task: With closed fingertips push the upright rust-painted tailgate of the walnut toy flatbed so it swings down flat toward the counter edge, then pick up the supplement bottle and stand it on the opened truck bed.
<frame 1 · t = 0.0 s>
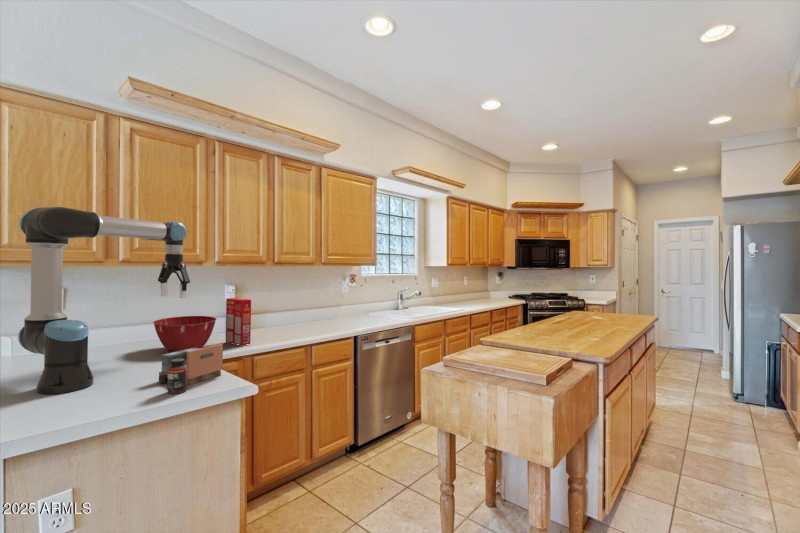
hand: (173, 296, 185), 28 cm above the worktop, fingers open, 13 cm apart
mixing bowl: (185, 349, 194), on the worktop
tailgate: (206, 360, 144), point 8 cm above the worktop, hinge at 0.0°
flatbed: (190, 378, 148), on the worktop
food packaging: (237, 344, 210), on the worktop
supplement bottle: (177, 392, 133), on the worktop
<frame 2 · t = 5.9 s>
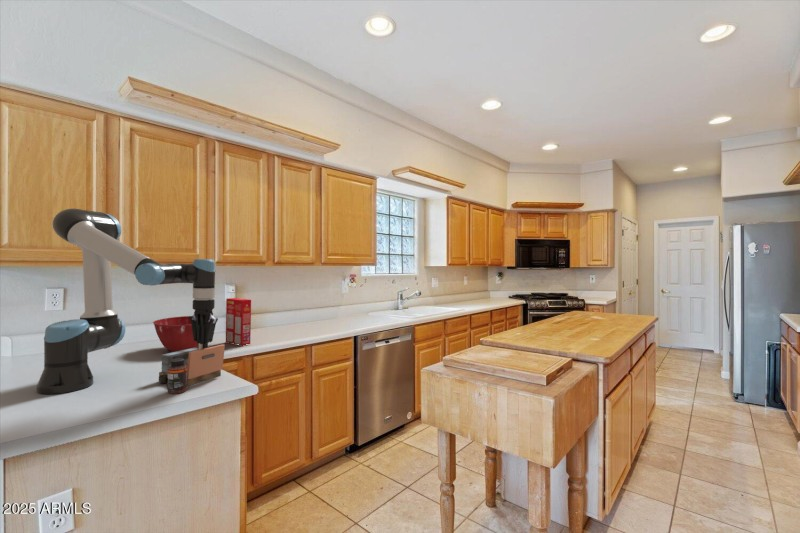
hand: (202, 359, 145), 8 cm above the worktop, fingers closed
tailgate: (207, 361, 144), point 8 cm above the worktop, hinge at 6.5°, touching gripper
everything else where it was.
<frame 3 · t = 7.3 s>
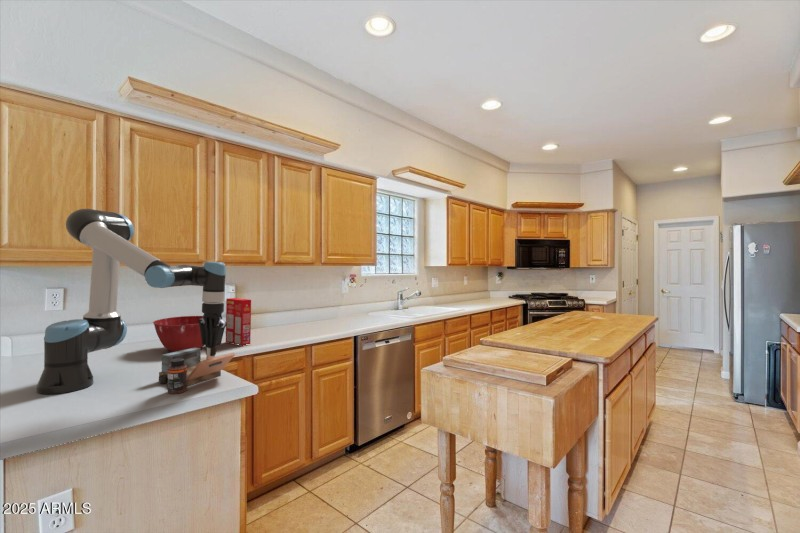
hand: (210, 363, 143), 7 cm above the worktop, fingers closed
tailgate: (212, 366, 143), point 6 cm above the worktop, hinge at 44.9°, touching gripper
everything else where it was.
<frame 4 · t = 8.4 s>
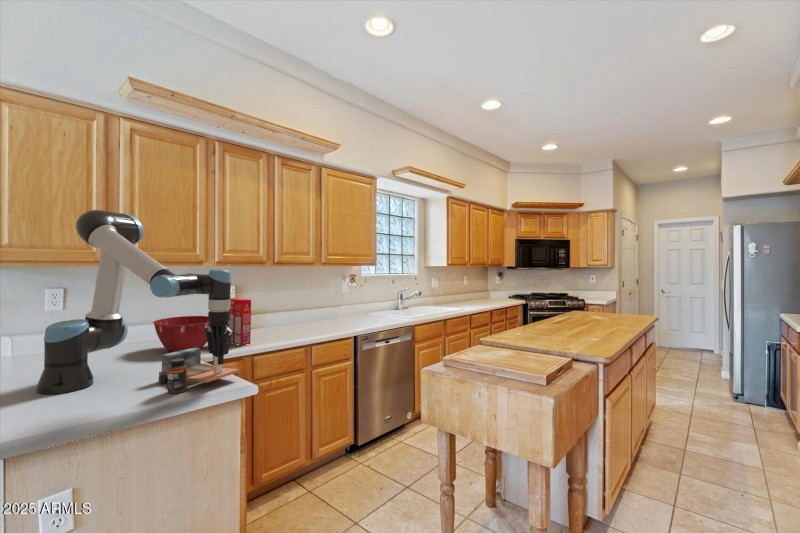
hand: (218, 372, 142), 4 cm above the worktop, fingers closed
tailgate: (214, 375, 142), point 3 cm above the worktop, hinge at 85.8°, touching gripper
everything else where it was.
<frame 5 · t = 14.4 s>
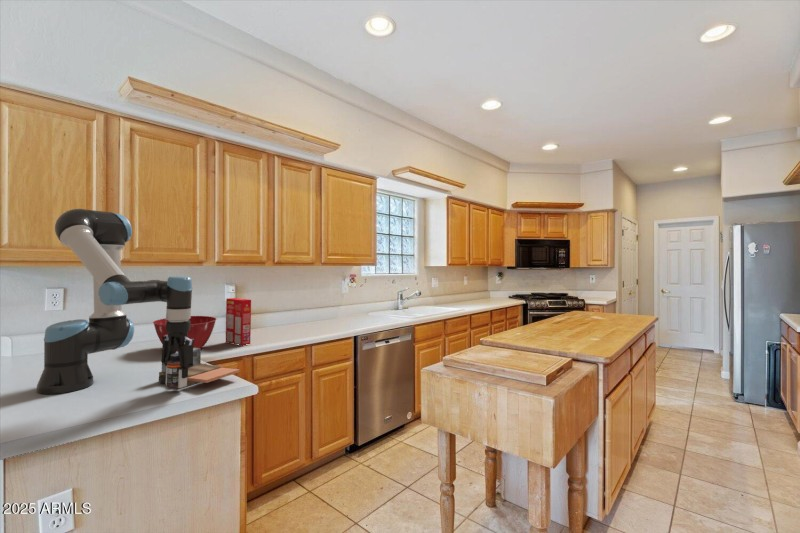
hand: (176, 384, 133), 2 cm above the worktop, fingers closed on supplement bottle, 6 cm apart
tailgate: (214, 375, 142), point 3 cm above the worktop, hinge at 86.4°
supplement bottle: (176, 386, 133), point 2 cm above the worktop, touching gripper
everything else where it was.
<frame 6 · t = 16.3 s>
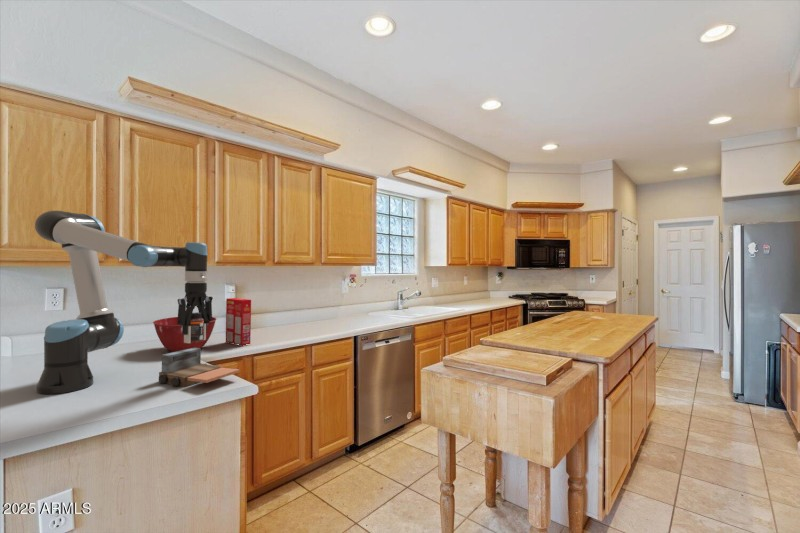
hand: (195, 341, 147), 15 cm above the worktop, fingers closed on supplement bottle, 6 cm apart
supplement bottle: (195, 342, 147), point 14 cm above the worktop, touching gripper
everything else where it was.
when the fingers open (5 cm above the worktop, at t = 18.3 s): supplement bottle stays where it is, resting on flatbed.
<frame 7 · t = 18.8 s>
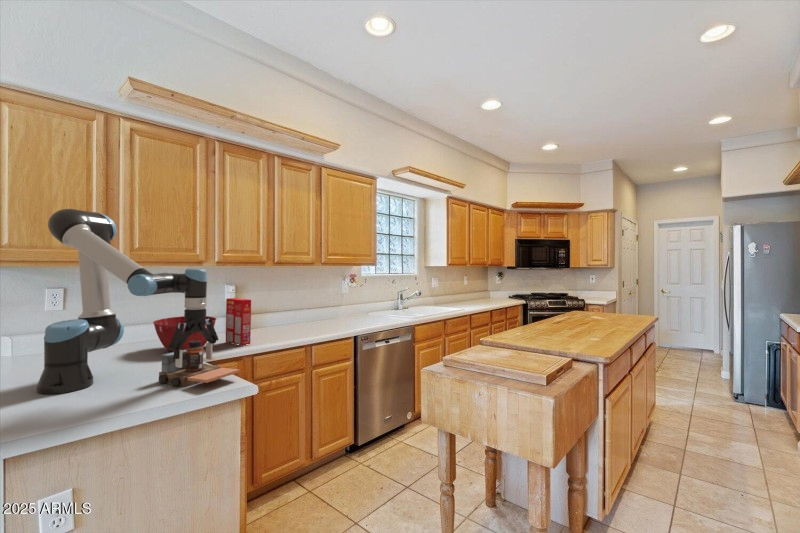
hand: (194, 363, 147), 6 cm above the worktop, fingers open, 12 cm apart
supplement bottle: (194, 370, 147), point 3 cm above the worktop, touching flatbed
everything else where it was.
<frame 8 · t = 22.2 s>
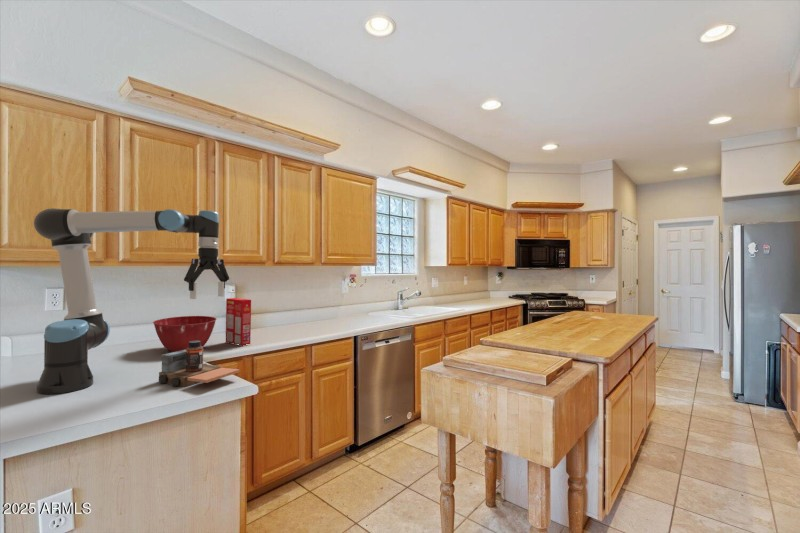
hand: (207, 297, 159), 31 cm above the worktop, fingers open, 13 cm apart
nothing on the worktop moved.
at the end: tailgate at +86° (first picture: +0°); supplement bottle inside the target area (0.0 cm from its centre), point 3.3 cm above the worktop; supplement bottle tilted 0° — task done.
